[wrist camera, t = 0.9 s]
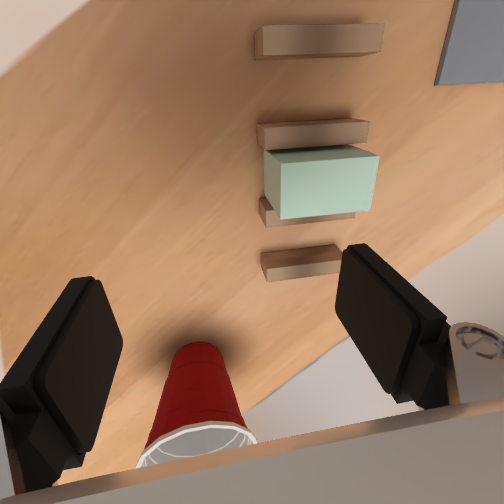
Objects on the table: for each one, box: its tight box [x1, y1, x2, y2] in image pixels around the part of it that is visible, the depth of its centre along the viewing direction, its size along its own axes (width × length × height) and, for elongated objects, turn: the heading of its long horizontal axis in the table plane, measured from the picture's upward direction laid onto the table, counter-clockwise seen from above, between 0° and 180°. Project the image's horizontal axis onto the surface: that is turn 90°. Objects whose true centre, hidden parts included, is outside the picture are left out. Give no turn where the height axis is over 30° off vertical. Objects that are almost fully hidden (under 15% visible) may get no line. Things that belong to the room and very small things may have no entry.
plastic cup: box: [135, 342, 258, 469], centre depth 29 cm, size 11×11×12 cm
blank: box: [263, 144, 380, 220], centre depth 22 cm, size 7×4×6 cm, turn 92°
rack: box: [254, 23, 385, 282], centre depth 24 cm, size 8×19×3 cm, turn 2°
